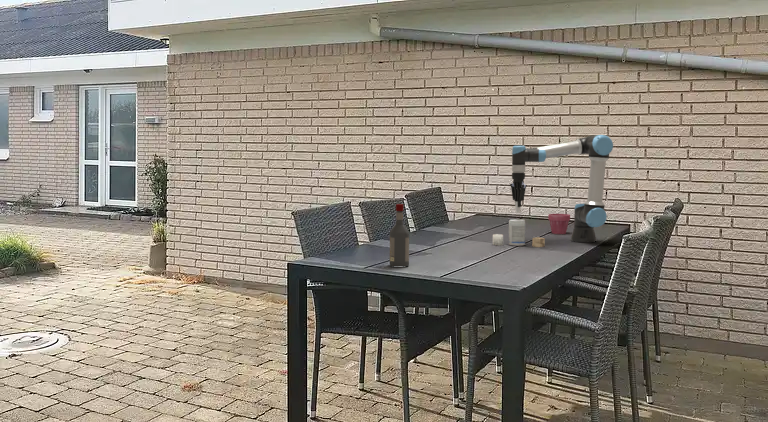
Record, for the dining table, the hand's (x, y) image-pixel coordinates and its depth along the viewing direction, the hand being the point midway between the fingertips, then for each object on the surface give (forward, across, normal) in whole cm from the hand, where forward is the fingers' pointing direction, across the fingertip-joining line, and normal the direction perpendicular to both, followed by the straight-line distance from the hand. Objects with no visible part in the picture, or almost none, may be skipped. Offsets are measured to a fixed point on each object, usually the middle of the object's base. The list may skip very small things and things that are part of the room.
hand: (517, 212), depth 418 cm
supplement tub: (+19, 0, 0) cm, 19 cm away
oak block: (+19, +10, +8) cm, 23 cm away
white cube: (+19, -5, -10) cm, 22 cm away
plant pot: (+20, -32, +58) cm, 69 cm away
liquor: (+19, +35, -96) cm, 104 cm away
